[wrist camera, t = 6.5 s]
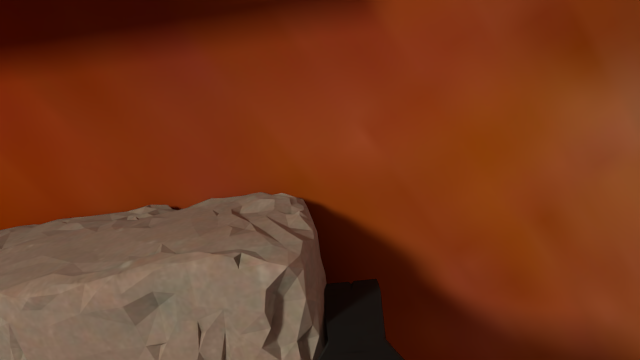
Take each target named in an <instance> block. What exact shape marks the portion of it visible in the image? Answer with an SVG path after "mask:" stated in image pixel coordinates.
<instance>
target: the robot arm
mask: <svg viewBox="0 0 640 360" xmlns="http://www.w3.org/2000/svg"><path fill="white" fill-rule="evenodd" d="M324 308H325V317H326V326H327V335H328V342H327V344H326V346H325V348H324V349H323V351H322V353H321V354H320V356H319V358H318V359H317V360H404V359H403V358H402V357H401V356H400V355H399V353H398V352H397V351H396V350H395V349H394V348H393V347H392V346H391V344H390V343H389V342H388V341H387V340H386V337H385V328H384V319H383V310H382V300H381V291H380V287H379V284H378V282H377V279H370V280H361V281H353V283H352V284H350V283H349V282H342V283H333V284H326V286H325V288H324Z"/></svg>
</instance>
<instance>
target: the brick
mask: <svg viewBox="0 0 640 360" xmlns="http://www.w3.org/2000/svg"><path fill="white" fill-rule="evenodd" d="M326 284H327V283H326V275H325V271H324V267H323V264H322V260H321V256H320V249H319V241H318V234H317V230H316V228H315V225H314V223H313V220H312V218H311V215H310V213H309V210H308V208H307V206H306V204H305V202H304V200H303V199H300V198H296V197H293V196H290V195H287V194H284V193H280V194H275V195H270V194H266V193H262V192H260V193H255V194H250V195H245V196H238V197H230V198H212V199H208V200H206V201H203V202H201V203H198V204H196V205H193V206H191V207H188V208H186V209H181V210H174V209H172V208H171V207H169V206H168V205H148V206H145V207H142V208H138V209H135V210H131V211H128V212H120V213H112V214H105V215H97V216H88V217H77V218H67V219H58V220H55V221H51V222H47V223H44V224H41V225H26V226H19V227H14V228H9V229H4V230H0V360H317V359H318V358H319V356H320V354H321V353H322V351H323V349H324V348H325V346H326V344H327V342H328V335H327V326H326V317H325V308H324V288H325V286H326Z"/></svg>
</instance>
